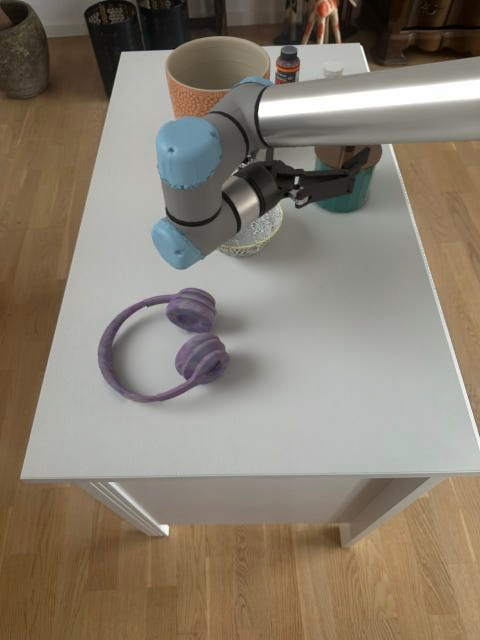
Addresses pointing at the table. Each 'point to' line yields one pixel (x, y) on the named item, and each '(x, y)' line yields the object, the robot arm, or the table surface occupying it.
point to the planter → (211, 71)
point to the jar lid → (347, 155)
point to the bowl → (254, 234)
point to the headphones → (194, 356)
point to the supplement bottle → (287, 66)
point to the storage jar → (350, 200)
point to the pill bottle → (332, 69)
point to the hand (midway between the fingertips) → (334, 136)
